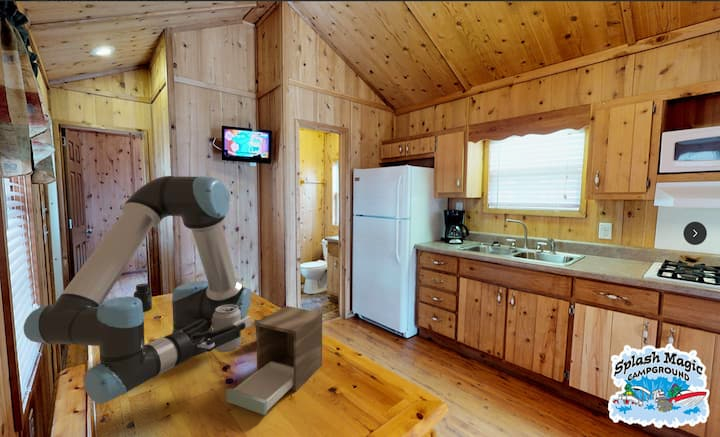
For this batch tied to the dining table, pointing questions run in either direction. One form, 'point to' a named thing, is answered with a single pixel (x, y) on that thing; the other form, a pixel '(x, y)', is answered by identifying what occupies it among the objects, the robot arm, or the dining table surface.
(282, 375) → the tray
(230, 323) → the can
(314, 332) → the housing
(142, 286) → the supplement bottle
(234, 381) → the dining table surface
